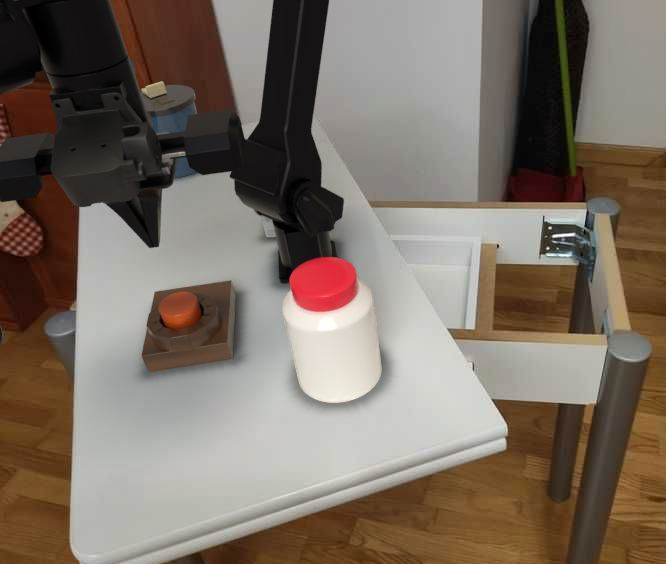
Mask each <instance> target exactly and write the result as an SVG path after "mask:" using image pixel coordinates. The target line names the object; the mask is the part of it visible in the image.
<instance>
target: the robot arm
mask: <svg viewBox="0 0 666 564" xmlns="http://www.w3.org/2000/svg"><path fill="white" fill-rule="evenodd" d="M329 5H330V0H272V8H271V10H272V11H271V16H270V26H269V35H268V44H267V54H266V61H265V72H264V80H263V90H262V99H261V106H260V107H261V108H260V116H259V120H258V121H259V122H258V123H257V125H256V126H255V127H254V129H253V130H252V131H251V133H250V134H249V136H248V137H247V138H245V135H244V130H243V125H242V120H241V119H240V116H239V115H238V114H236V113H235V112H234V111H233V110H231V109H224V110H223V109H222V110H216V111H215V110H214V111H207V112H201V113H199V112H198V114H192V115H188V119H187V124H186V128H185V131H181V132H173V133H169V132H165V133H157V134H156V132H155V131H154V130H153V128H152V125H153V121H152V118H151V115H150V112H149V111H148V112H147V110H146V107H145V104H144V101H143V98H142V95H141V92H142V91H141V89H140V86H139V83H138V79H137V77H136V74H137V69H136V66H135V63H134V60H133V58H130V56H129V53H128V50H127V47H126V44H125V41H124V38H123V35H122V32H121V29H120V28H121V27H120V25H119V22H118V20H117V15H116V13H115V10H114V7H113V4H112V1H111V0H0V96H1V95H3V94H7V93H8V92H12V91H15V90H18V89H19V88H20V89H21V88H24V87H26V86H28V85H31V84H33V83H34V82H35V78H36V74H37V73H40V72H43V69H44V71H45V74H46V76H47V79H48V81H49V83H50V86H51V88H52V90H51V91H50V93H48V97H49V100H50V102H51V108H52V110H53V112H54V115H55V125H56V133H55V135H53V134H51V133H50V132H45V133H36V134H29V135H22V136H13V137H7V138H5V139H4V140H3V141H2V143H1V145H0V203H6V202H15V201H22V200H29V199H36V198H37V197H38V196H39V194H40V193H41V191H42V189H43V187H44V185H45V181H44V179H43V177H45V176H53V177H54V178H55V180H56V181H57V182H58V184H59V186H60V187H61V188H62V190H63V191H64V193H65V194H66V196H67V197H68V200H70V202H71V203H72V205H73V206H75V207H78V208H87V207H91V206H92V205H95V204H101V203H102V204H104V205H106V207H108V208H110V209H111V210H112V211H113V212H114V213H115V214H117V216H119V217H120V218H121V220H123V222H125V224H126V225H127V226H128V227H129V228H130V229H131V230H132V231H133V232H134V234H136V236H137V237H138V238H139V239H140V240H141V241H142V242H143V243H144V244H145V245H146V246H147V247H148V248H149V249H153V248H159V247H160V245H161V230H162V229H161V227H162V200H163V190H165V189H168V188H171V187H172V186H173V184H174V181H175V178H174V177H175V172H176V168H177V163H178V158H182V157H186V158H187V161H188V164H189V167H190V168H191V169H193V170H195V171H196V173H198V174H200V176H208V175H216V174H223V173H230V174H229V178H230V179H232V180H233V182H234V193H235V195H236V196H237V197H238V199H239V200H240V201H241V203H242V204H243V205H245V207H246V206H247V207H248V208H250V209H252V210H253V211H254V213H255V214H256V215H257V216H260V217H261V216H264V217H267V218H269V219H272V221H273V226H274V230H275V234H276V237H275V239H276V243H277V247H278V249H277V253H278V254H277V255H278V281H279V283H281V284H282V285H283V284H290V276H291V274H292V272H293V271H294V270H295V269H296V268H297V267H298V266H300V265H301V264H303V263H305V262H307V261H310V260H312V259H316V258H322V257H336V258H338V257H337V251H336V243H335V241H334V240H331V236H330V232H331V231H332V230H334V229H335V225H336V222H338V221H339V220H341V219H342V218H343V213H344V204H345V199H344V197H342V196H340V195H338V194H336V193H334V192H333V191H331V190H329V189H327V188H325V187H324V186H322V172H323V171H322V169H323V168H322V167H323V163H322V159H321V156H320V153H319V151H318V148H317V145H316V142H315V138H314V136H313V131H312V127H313V119H314V112H315V105H316V98H317V92H318V85H319V84H318V83H319V76H320V70H321V64H322V63H321V62H322V56H323V49H324V41H325V34H326V29H327V28H326V27H327V21H328V13H329Z"/></svg>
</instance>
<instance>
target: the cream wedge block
mask: <svg viewBox="0 0 666 564" xmlns="http://www.w3.org/2000/svg"><path fill="white" fill-rule="evenodd" d="M140 91H141V92H142V93H144V94H145V95H147V96H148V97H150V98H153V97H156V96H159V95H162V94H165V93H167V92H166V88H165V83H164V81H162V80H161V81H158V82H155V83H152V84H149V85H145V87H143V88H141V89H140Z"/></svg>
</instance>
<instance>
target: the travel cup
mask: <svg viewBox="0 0 666 564" xmlns="http://www.w3.org/2000/svg"><path fill="white" fill-rule="evenodd" d="M164 85H165V84H164ZM165 88H166V92H167V93H165V94H162V95H159V96H156V97H153V98H150V97H148V96H147V95H145V94H144V93H142V91H140V92H141V95H142V98H143V101H144V104H145V107H146V110H147V112H148V111H149V112H150V115H151V118H152V121H153V125H152V128H153V130H154V131H155V132H156V134H157V133H165V132H169V133H173V132H181V131H185V128H186V124H187V119H188V115H192V114H199V112H198V109H197V105H196V102H195V101H196V98H197V97H196V94H195V90H194V89H193V88H192V87H190V86H187V85H184V84H167V85H165ZM196 173H197V172H196V171H195V170H193V169H191V168H190V167H189V164H188V161H187V158H186V157H182V158H178V163H177V168H176V172H175V177H174V179H175V178H183V177H186V176H190V175H194V174H196Z"/></svg>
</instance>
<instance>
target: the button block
mask: <svg viewBox="0 0 666 564" xmlns="http://www.w3.org/2000/svg"><path fill="white" fill-rule="evenodd" d="M178 292H189V293H192V294H194V295H195V296H196V297H197V300H198V302H199V305H200V308H201V311H202V316H201V318H200V319H199V320H198V321H197V322H196V323H194V324H192V325H190V326H188V327H186V328H181V329H170V328H167V327H166V326H165V325H164V322H163V320H162V317H161V315H160V312H159V309H158V308H159V304H160V303H161V301H162V300H163V299H164V298H166V297H167V296H169V295H171V294H174V293H178ZM236 303H237V296H236V291H235V289H234V285H233V281H232V280H223V281H217V282H210V283H204V284H197V285H189V286H184V287H177V288H176V287H175V288H169V289H163V290H156V291H154V294H153V298H152V303H151V308H150V311H149V313H148V316H147V321H146V331H145V337H144V342H143V347H142V351H141V358H142V361H143V364H144V365H145V367H146V369H147V372H148V373H154V372H161V371H166V370H173V369H179V368H186V367H193V366H199V365H204V364H205V365H206V364H212V363H218V362H223V361H224V362H225V361H231V360H233V359H234V343H235V342H234V341H235V339H234V338H235V321H236Z"/></svg>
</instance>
